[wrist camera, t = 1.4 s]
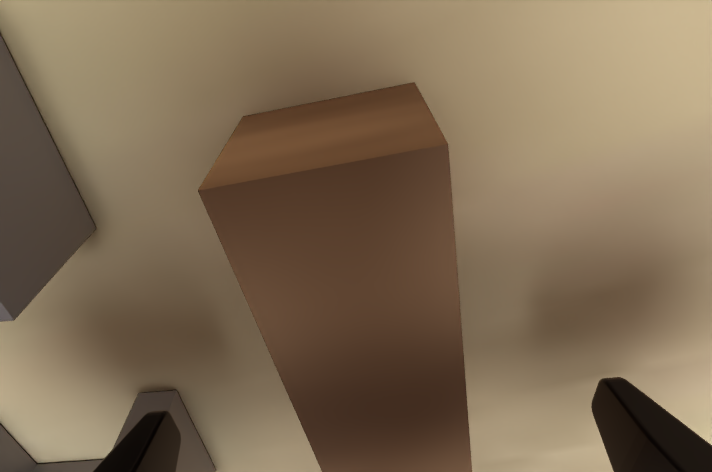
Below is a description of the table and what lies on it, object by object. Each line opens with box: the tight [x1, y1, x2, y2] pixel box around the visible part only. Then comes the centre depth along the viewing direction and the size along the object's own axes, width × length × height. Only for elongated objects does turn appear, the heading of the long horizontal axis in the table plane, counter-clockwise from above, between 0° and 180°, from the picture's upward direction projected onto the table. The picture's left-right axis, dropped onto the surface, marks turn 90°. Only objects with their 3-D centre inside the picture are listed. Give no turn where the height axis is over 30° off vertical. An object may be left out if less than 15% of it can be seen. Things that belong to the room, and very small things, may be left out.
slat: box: [198, 82, 472, 472], centre depth 10 cm, size 11×4×4 cm, turn 11°
